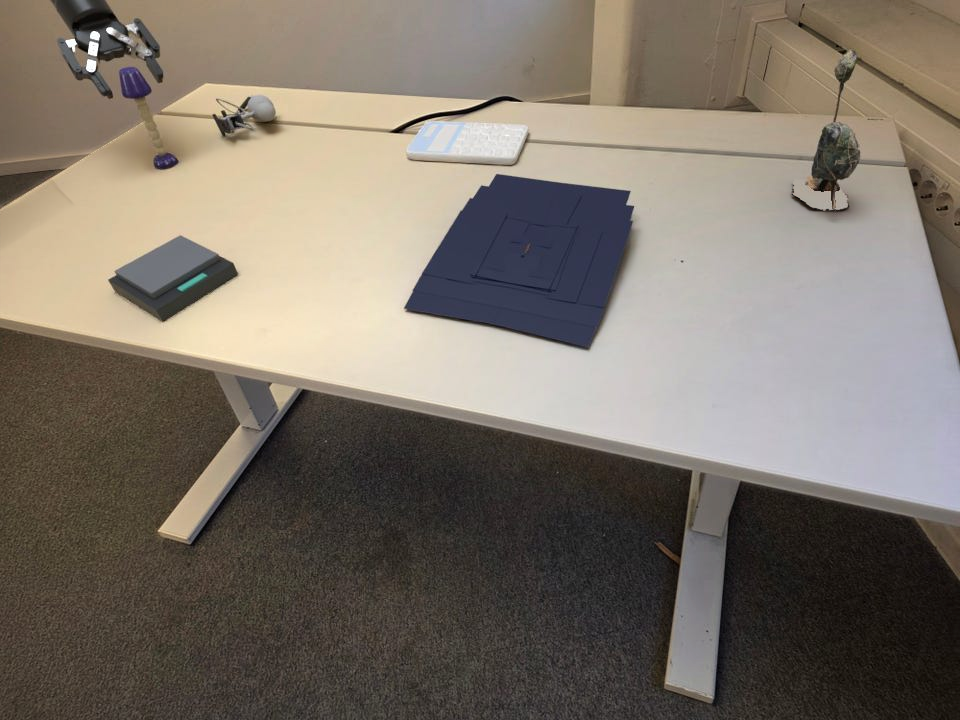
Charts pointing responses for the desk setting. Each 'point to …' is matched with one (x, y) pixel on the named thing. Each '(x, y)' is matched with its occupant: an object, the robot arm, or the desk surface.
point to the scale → (172, 277)
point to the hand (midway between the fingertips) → (136, 88)
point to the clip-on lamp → (257, 109)
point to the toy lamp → (145, 112)
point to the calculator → (468, 142)
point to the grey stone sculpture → (836, 142)
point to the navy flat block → (529, 258)
